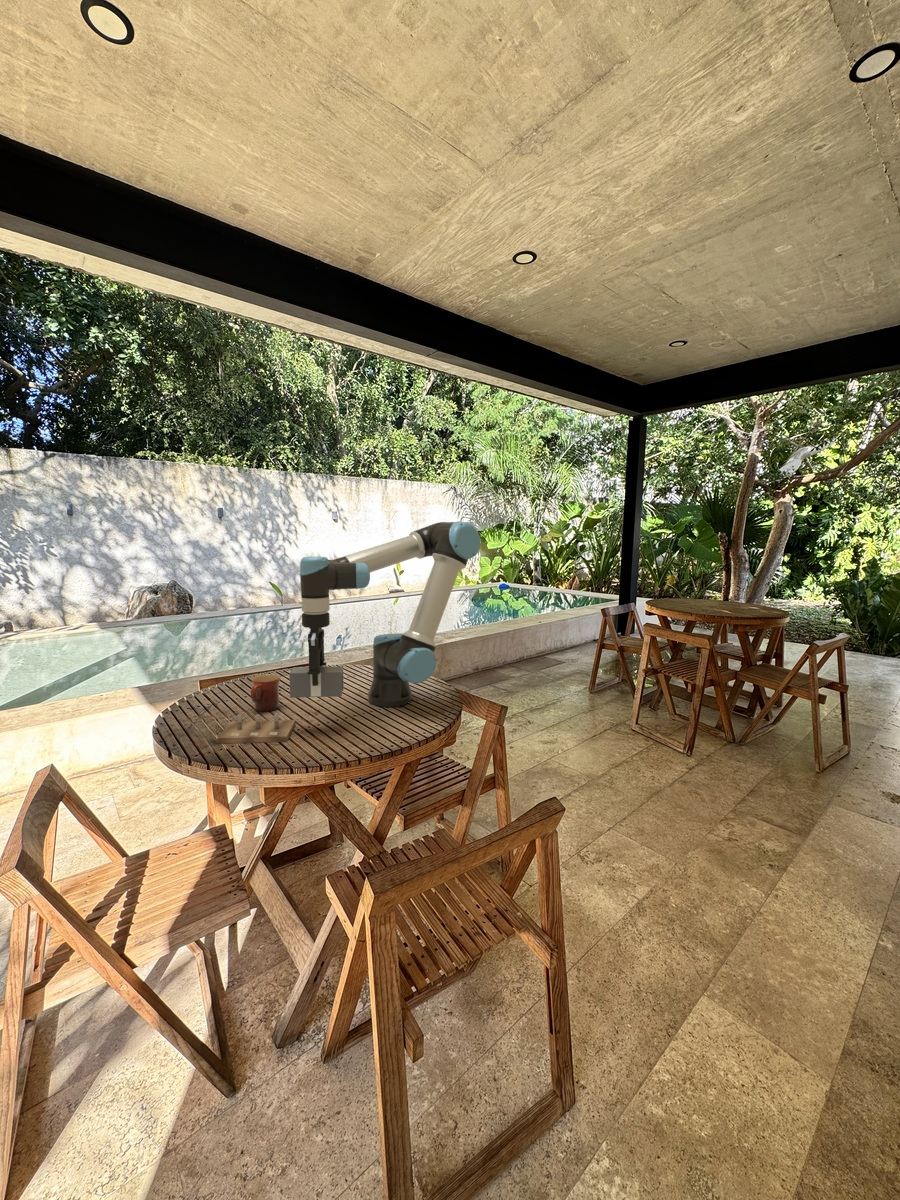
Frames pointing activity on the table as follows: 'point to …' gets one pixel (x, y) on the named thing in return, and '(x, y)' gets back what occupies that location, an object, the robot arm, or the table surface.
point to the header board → (257, 731)
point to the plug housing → (329, 682)
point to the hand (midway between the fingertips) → (317, 691)
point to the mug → (265, 692)
